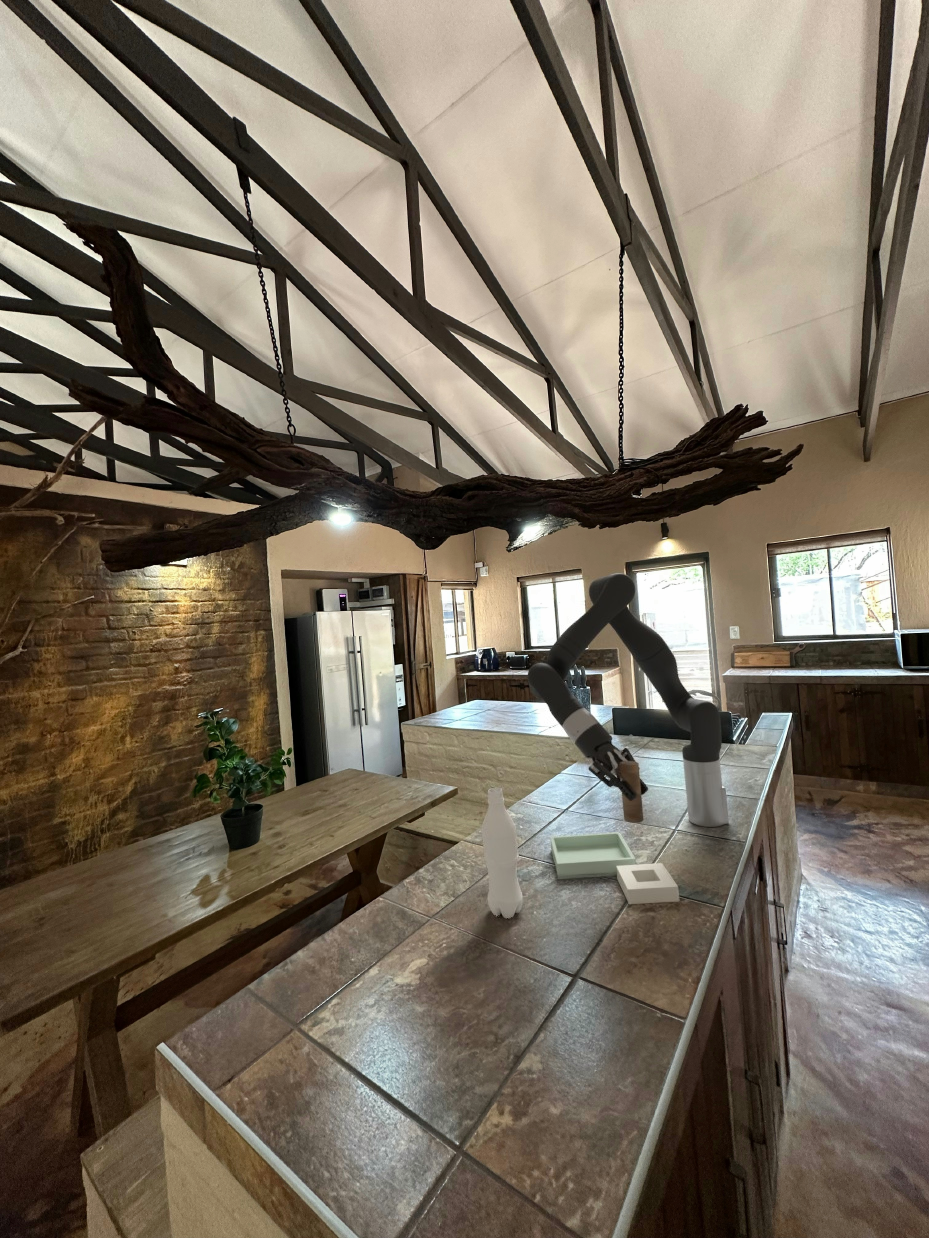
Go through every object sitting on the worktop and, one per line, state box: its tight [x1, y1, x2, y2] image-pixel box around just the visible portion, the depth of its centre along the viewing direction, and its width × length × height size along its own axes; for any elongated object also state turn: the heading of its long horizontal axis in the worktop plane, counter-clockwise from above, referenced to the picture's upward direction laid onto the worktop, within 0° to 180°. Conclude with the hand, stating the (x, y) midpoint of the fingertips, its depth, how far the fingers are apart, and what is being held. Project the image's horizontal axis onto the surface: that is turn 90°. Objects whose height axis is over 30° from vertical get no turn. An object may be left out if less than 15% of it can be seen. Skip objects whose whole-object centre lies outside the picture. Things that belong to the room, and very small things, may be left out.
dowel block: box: [616, 862, 680, 905], centre depth 108 cm, size 10×10×3 cm
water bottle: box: [481, 787, 524, 919], centre depth 105 cm, size 7×7×25 cm
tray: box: [549, 831, 637, 880], centre depth 123 cm, size 18×15×4 cm
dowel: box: [619, 760, 644, 824], centre depth 110 cm, size 4×4×12 cm
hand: (639, 794), depth 109 cm, fingers closed on dowel, 4 cm apart
